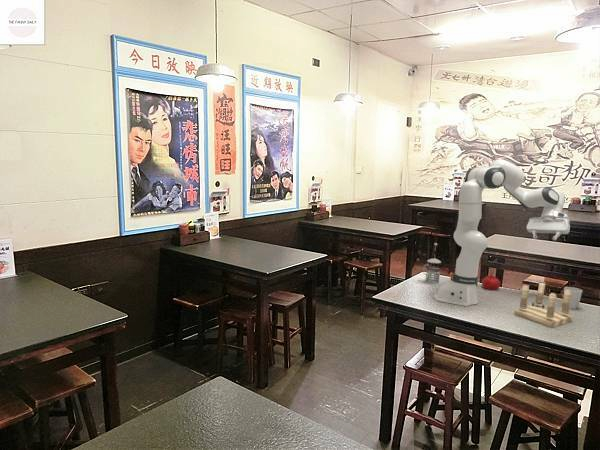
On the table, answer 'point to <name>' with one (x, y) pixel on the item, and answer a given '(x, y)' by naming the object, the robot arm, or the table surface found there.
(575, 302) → the cup
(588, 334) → the table surface
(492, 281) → the pomegranate
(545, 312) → the stool
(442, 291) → the robot arm
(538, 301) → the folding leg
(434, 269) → the french press
